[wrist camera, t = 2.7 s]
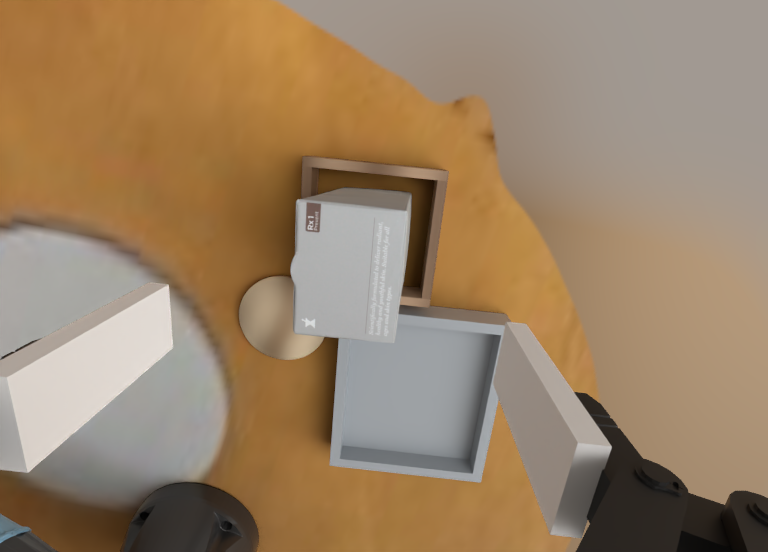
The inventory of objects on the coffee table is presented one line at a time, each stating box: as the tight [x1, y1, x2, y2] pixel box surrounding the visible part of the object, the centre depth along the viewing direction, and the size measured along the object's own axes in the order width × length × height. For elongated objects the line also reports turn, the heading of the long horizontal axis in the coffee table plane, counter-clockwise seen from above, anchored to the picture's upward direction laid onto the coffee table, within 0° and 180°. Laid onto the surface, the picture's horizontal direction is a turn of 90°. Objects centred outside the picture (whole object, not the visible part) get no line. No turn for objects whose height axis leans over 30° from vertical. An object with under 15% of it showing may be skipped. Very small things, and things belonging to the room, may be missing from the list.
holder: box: [301, 156, 449, 308], centre depth 36 cm, size 12×12×3 cm
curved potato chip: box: [239, 276, 324, 360], centre depth 40 cm, size 9×9×1 cm
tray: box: [330, 305, 511, 482], centre depth 41 cm, size 16×18×3 cm
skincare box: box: [291, 187, 412, 343], centre depth 30 cm, size 8×7×16 cm
